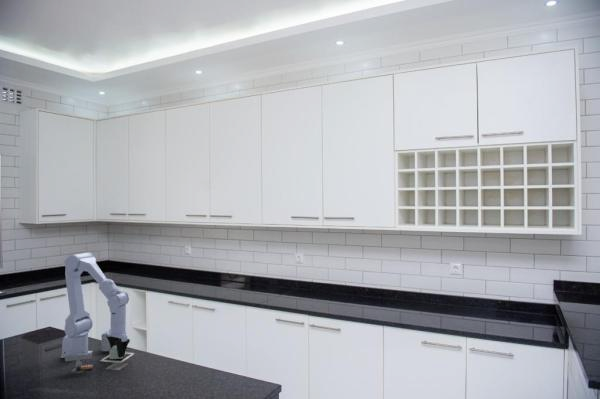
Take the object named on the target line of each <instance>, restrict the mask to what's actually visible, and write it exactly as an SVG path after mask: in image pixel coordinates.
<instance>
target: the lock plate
mask: <svg viewBox="0 0 600 399" xmlns="http://www.w3.org/2000/svg"><path fill="white" fill-rule="evenodd" d="M127 365H128V363H125V362H122V363H115V362H112V364H110V365H109V366H107V367H105V370H114V371H120V370H121V369H124V368H125V367H126V366H127ZM85 371H87V369H81V370H78V371H76V368H73V369H72V370H71V373H72V374H80V373H83V372H85Z"/></svg>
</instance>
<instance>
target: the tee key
mask: <svg viewBox="0 0 600 399" xmlns="http://www.w3.org/2000/svg"><path fill="white" fill-rule="evenodd" d="M92 358H93V351H92V352H90V353H81V354H72V355H66V356H65V358H64V361H65V362H72V361H75V369H76V371H78V370H81V369H86V370H87V369H88V370H89V369H92V368H93V364H88V365H87V364H85V365H83V360H90V359H92Z"/></svg>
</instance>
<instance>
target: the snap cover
mask: <svg viewBox="0 0 600 399" xmlns="http://www.w3.org/2000/svg"><path fill="white" fill-rule="evenodd" d="M126 353H127V350H126V351H125V355H124V357H125V356H126V355H127V354H126ZM124 357H120V358H119V357H118V352H117V347H116V345H114V346H113V347H112V348H111V349H110V351H109V357H108V358H109V359H108V360H117V359H120V360H121V359H122V360H123V359H124Z"/></svg>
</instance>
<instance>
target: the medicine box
mask: <svg viewBox="0 0 600 399" xmlns="http://www.w3.org/2000/svg"><path fill="white" fill-rule="evenodd" d="M107 334H110V333H109V330H107V331H106V330H105V331H104V332H103V333H101V352H110V349H111V347H110V343H109V341H108V339H107V337H106V336H107Z"/></svg>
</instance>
